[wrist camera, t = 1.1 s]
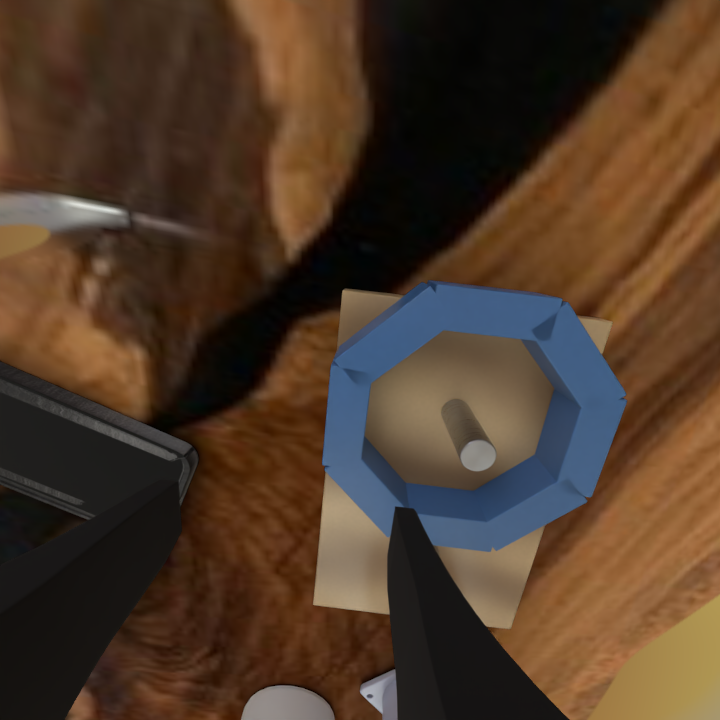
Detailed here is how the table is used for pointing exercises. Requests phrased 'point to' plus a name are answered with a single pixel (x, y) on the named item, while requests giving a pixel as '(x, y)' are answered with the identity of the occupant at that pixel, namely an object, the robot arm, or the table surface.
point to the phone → (80, 448)
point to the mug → (287, 705)
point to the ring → (517, 485)
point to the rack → (440, 456)
